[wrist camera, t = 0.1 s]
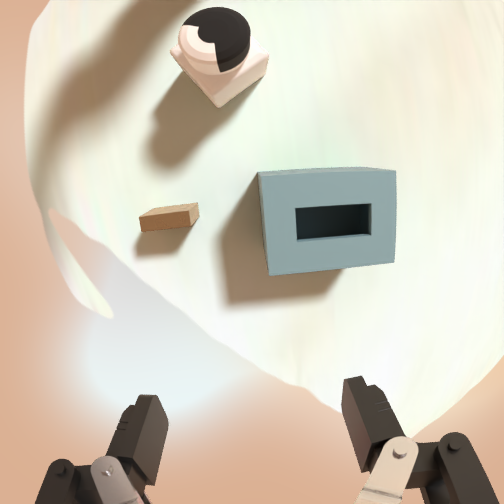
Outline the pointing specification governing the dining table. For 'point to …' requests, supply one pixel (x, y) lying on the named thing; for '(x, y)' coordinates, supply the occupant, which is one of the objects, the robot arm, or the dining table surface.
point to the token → (169, 217)
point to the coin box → (327, 218)
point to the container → (219, 53)
